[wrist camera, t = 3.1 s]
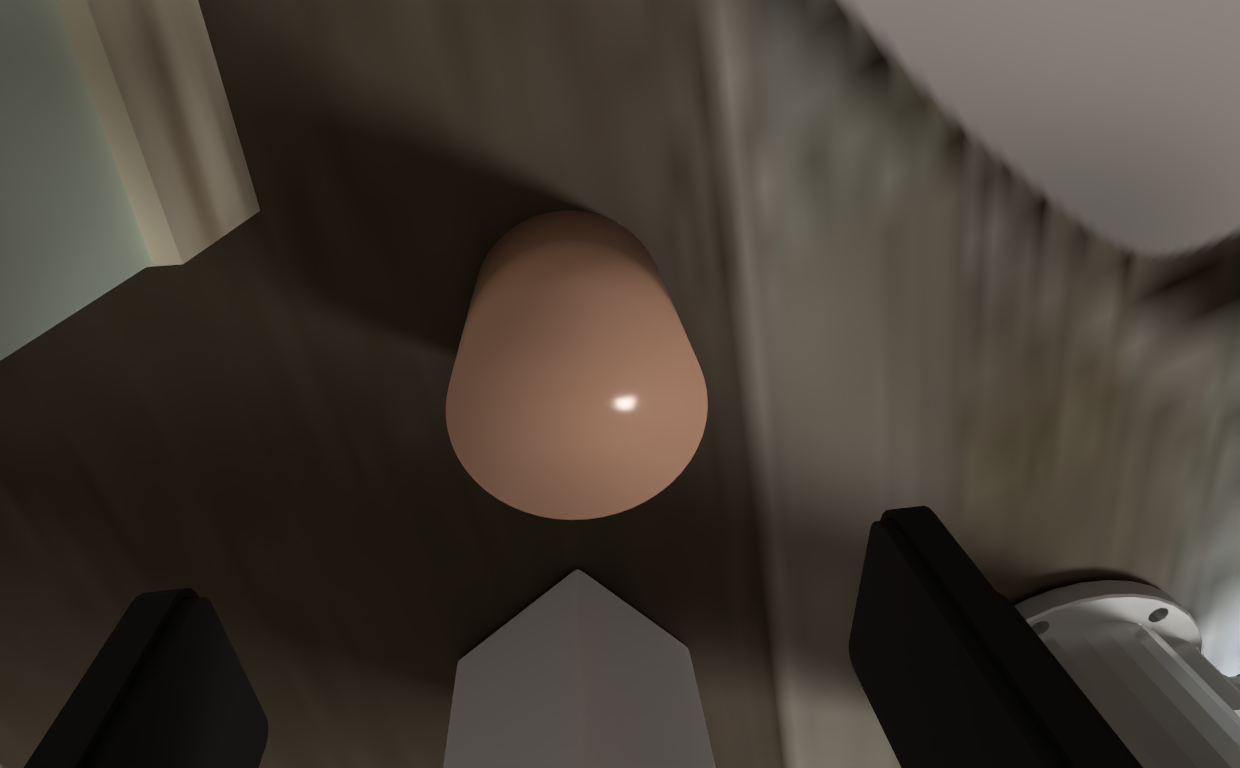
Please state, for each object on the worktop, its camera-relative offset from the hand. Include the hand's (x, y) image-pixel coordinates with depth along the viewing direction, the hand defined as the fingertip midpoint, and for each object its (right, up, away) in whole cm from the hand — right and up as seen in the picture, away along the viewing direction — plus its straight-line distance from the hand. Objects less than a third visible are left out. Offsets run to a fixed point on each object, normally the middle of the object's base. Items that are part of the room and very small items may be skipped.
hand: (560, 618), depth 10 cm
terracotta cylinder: (-1, +6, +12) cm, 13 cm away
